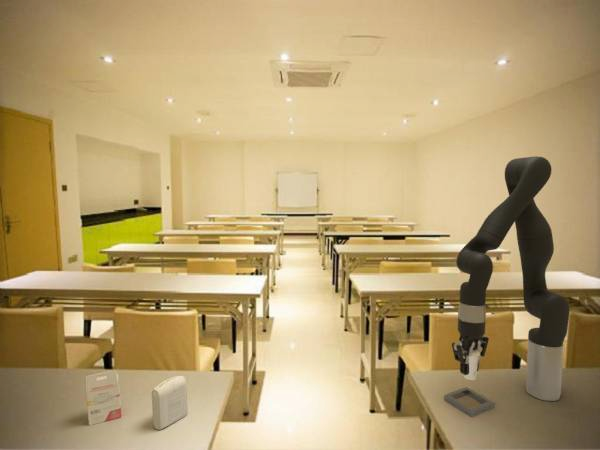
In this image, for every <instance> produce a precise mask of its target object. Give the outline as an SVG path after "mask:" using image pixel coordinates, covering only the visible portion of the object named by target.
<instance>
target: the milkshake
mask: <svg viewBox="0 0 600 450" xmlns="http://www.w3.org/2000/svg"><path fill="white" fill-rule="evenodd" d="M464 351H465V352H467V353H468V351H466V350H464ZM479 355H480V353H479V352H478V351H477V349H476V350H472V354H471V356H469V361H468V363H469V365H468V375H464V374H463V377H464V379H465V380H468V381H476V379H477V372H478V371H477V367H478V361H479V362H480V360H479ZM464 358H465V355H464Z"/></svg>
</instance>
